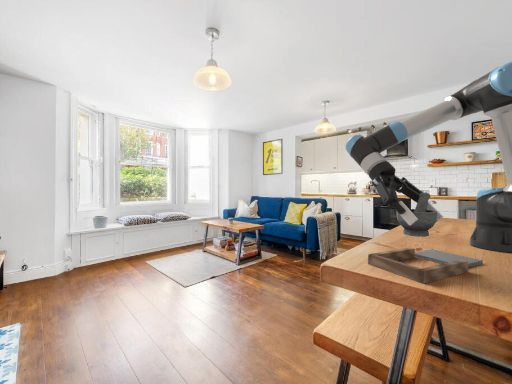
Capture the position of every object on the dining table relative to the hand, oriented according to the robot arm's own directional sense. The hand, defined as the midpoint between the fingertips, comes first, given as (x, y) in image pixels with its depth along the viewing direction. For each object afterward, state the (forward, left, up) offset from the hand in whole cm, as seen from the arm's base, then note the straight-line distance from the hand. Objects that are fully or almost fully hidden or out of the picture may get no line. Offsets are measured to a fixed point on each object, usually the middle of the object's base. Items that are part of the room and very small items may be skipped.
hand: (426, 221), depth 67 cm
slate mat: (-17, -4, -14) cm, 22 cm away
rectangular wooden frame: (0, -3, -14) cm, 14 cm away
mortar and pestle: (0, -3, -4) cm, 5 cm away
